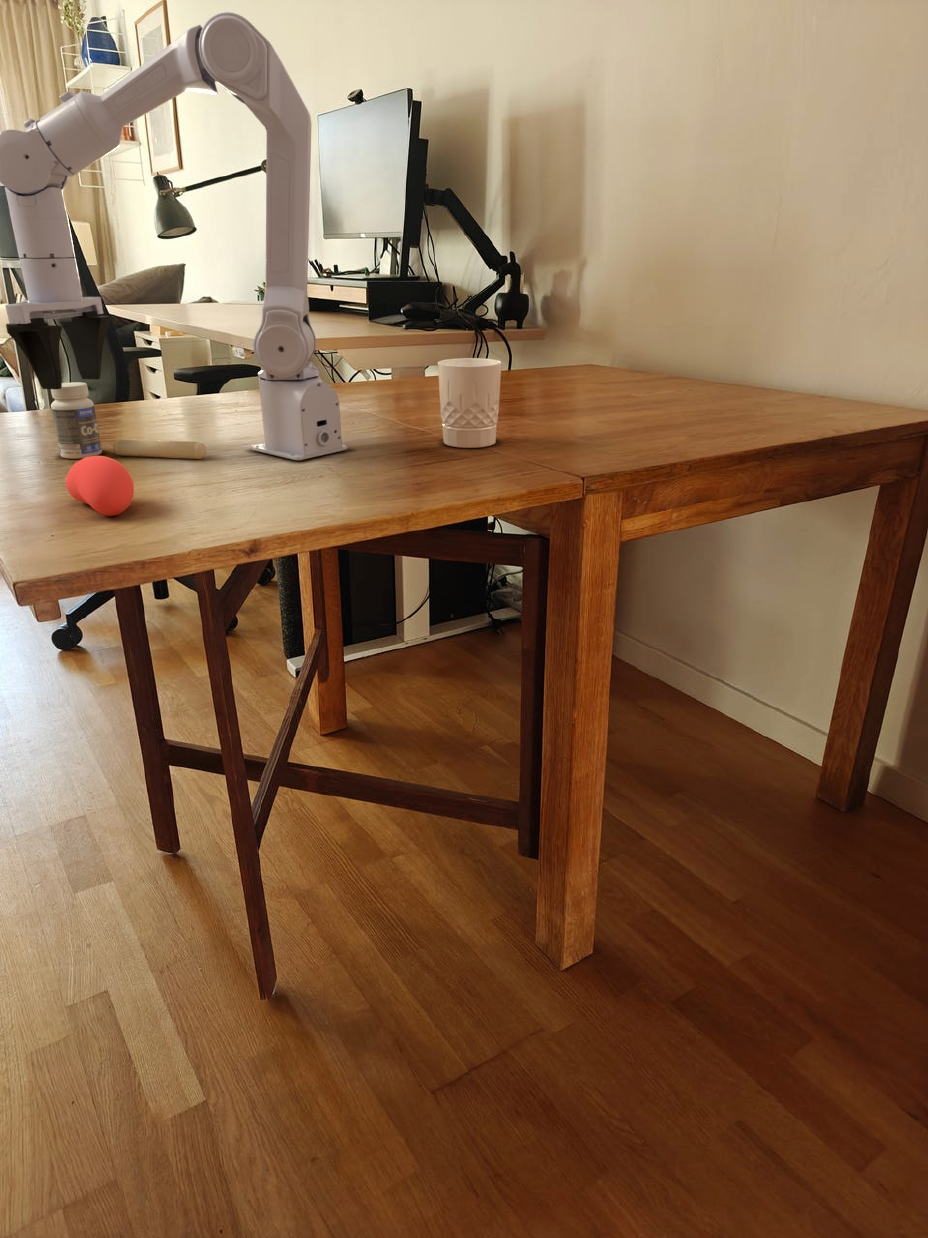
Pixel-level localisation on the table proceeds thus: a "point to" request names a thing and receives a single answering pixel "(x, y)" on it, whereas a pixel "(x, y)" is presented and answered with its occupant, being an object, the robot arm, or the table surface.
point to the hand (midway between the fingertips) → (72, 383)
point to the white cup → (469, 401)
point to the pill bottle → (75, 421)
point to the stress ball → (101, 484)
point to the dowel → (160, 448)
